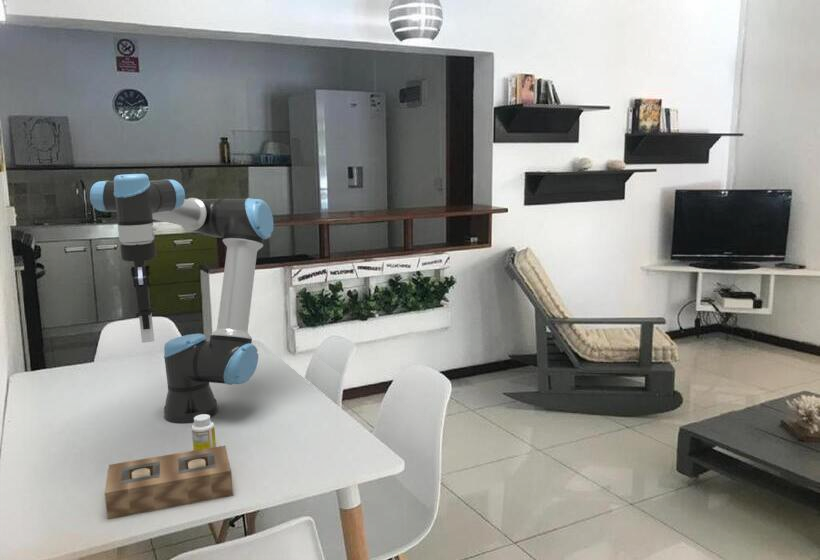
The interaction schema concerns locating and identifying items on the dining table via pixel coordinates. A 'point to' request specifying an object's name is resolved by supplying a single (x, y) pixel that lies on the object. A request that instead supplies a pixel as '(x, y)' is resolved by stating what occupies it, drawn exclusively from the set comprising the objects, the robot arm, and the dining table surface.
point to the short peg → (196, 463)
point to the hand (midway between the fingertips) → (148, 341)
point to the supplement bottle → (203, 432)
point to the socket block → (167, 482)
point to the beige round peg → (140, 473)
